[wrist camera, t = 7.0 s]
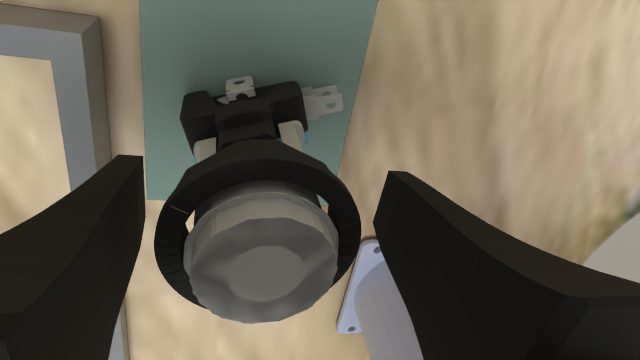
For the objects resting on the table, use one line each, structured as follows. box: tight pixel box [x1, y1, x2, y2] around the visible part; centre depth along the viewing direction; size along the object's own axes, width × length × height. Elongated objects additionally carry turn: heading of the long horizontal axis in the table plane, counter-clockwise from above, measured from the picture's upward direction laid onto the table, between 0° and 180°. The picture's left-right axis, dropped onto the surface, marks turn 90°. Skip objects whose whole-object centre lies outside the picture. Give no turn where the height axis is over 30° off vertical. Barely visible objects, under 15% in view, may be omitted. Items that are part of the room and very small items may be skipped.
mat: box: [139, 0, 378, 206], centre depth 18 cm, size 9×11×1 cm
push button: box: [154, 76, 361, 324], centre depth 14 cm, size 7×5×10 cm
